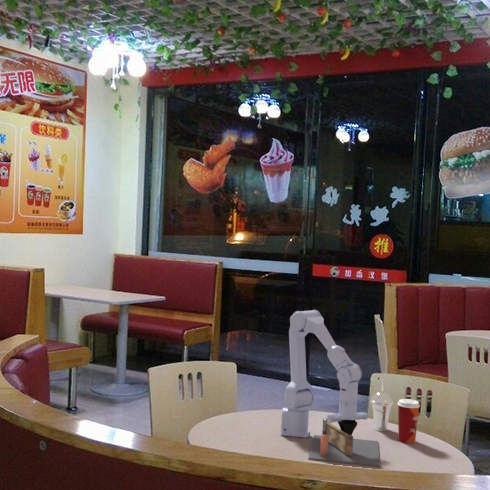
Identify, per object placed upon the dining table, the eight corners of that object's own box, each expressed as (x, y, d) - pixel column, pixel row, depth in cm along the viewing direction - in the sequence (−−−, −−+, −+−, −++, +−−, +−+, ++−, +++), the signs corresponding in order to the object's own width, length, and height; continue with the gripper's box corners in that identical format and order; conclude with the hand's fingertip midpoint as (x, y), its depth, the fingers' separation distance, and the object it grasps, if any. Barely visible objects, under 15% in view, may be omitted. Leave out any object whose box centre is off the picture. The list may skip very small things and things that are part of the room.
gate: (325, 439, 228) (325, 422, 228) (329, 439, 229) (330, 421, 228) (347, 455, 213) (348, 436, 213) (352, 455, 214) (353, 436, 214)
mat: (308, 459, 211) (308, 457, 211) (314, 436, 235) (314, 434, 235) (379, 466, 207) (379, 465, 207) (378, 442, 231) (378, 441, 231)
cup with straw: (397, 430, 245) (399, 376, 245) (379, 434, 240) (382, 379, 240) (380, 424, 252) (382, 371, 252) (362, 427, 247) (365, 374, 247)
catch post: (319, 458, 213) (320, 436, 213) (320, 455, 215) (321, 434, 215) (327, 458, 212) (328, 437, 212) (327, 456, 215) (328, 434, 214)
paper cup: (418, 445, 229) (420, 405, 229) (395, 443, 231) (397, 403, 231) (417, 438, 237) (419, 399, 237) (395, 436, 239) (397, 397, 238)
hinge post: (321, 441, 229) (322, 419, 229) (322, 439, 231) (323, 418, 231) (327, 442, 229) (328, 420, 229) (328, 440, 231) (329, 418, 231)
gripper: (335, 406, 214) (333, 448, 214) (373, 403, 219) (371, 443, 220) (324, 400, 220) (322, 441, 220) (361, 397, 226) (359, 437, 226)
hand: (346, 442), depth 221 cm, fingers closed
